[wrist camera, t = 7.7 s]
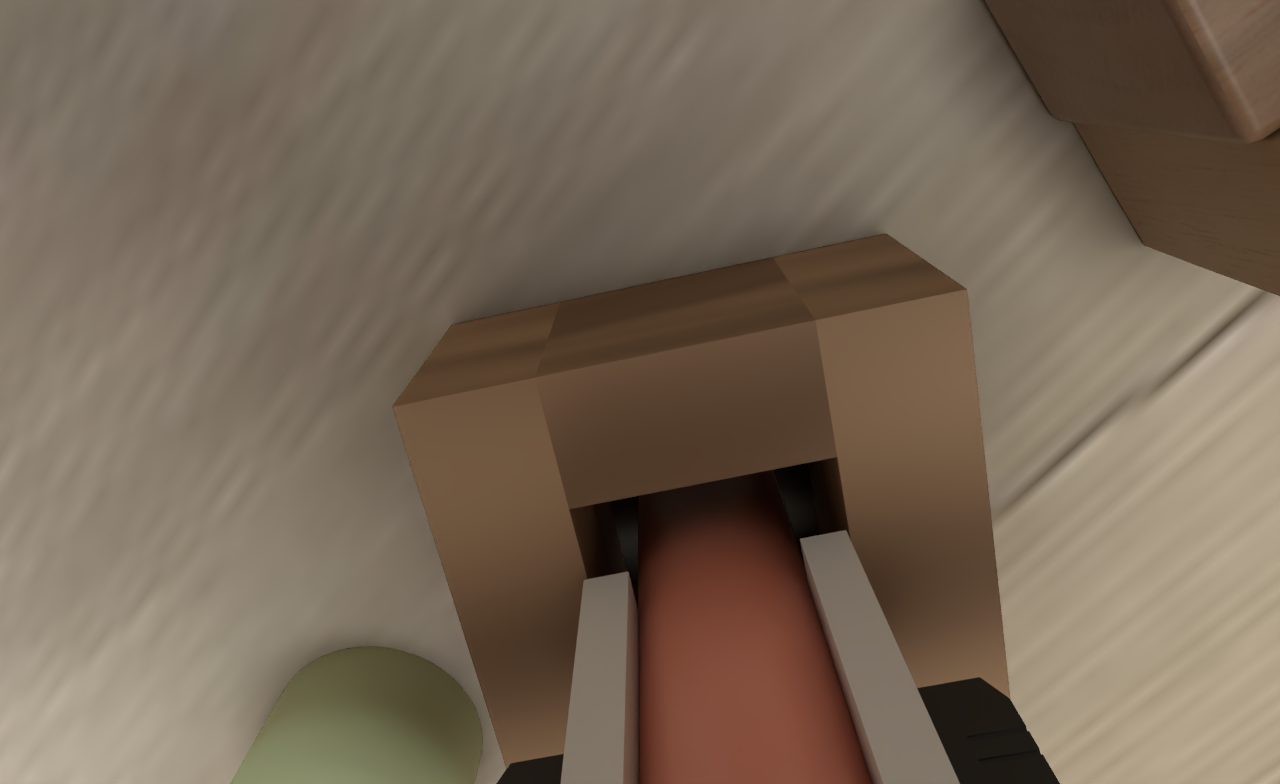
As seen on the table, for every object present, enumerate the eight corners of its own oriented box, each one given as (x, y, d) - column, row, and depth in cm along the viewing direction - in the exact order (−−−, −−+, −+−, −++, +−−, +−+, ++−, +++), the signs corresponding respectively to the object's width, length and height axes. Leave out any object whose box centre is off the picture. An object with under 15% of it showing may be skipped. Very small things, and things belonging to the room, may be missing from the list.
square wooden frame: (451, 325, 20) (392, 407, 15) (886, 233, 19) (967, 288, 14) (555, 687, 23) (532, 851, 18) (936, 617, 22) (1017, 768, 17)
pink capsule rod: (625, 438, 21) (603, 1112, 7) (763, 412, 20) (991, 1058, 7) (652, 559, 22) (674, 1347, 8) (784, 535, 21) (1019, 1304, 8)
